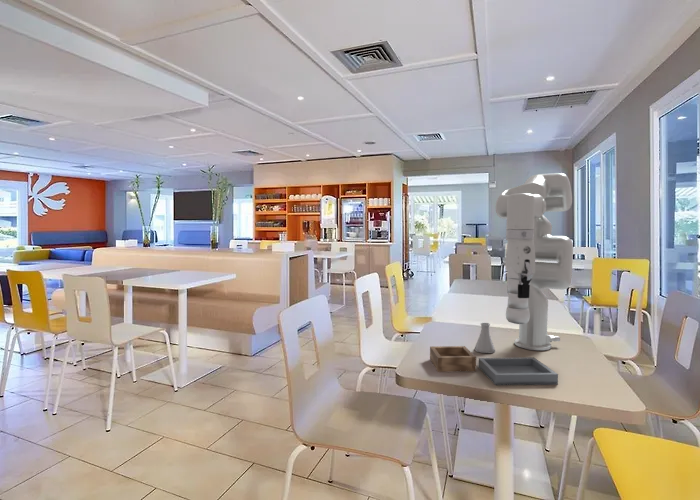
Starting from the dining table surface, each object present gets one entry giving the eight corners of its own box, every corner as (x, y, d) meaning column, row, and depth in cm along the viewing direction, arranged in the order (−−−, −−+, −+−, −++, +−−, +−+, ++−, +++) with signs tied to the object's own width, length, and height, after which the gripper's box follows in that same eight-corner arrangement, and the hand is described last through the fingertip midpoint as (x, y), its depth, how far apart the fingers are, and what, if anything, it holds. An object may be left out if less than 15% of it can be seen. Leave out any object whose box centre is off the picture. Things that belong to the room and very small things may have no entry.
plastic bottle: (527, 327, 113) (530, 258, 112) (503, 324, 117) (505, 257, 115) (531, 322, 119) (533, 256, 117) (507, 319, 122) (509, 255, 121)
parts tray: (533, 366, 126) (534, 357, 126) (557, 384, 112) (558, 374, 112) (478, 367, 126) (478, 358, 126) (495, 385, 112) (495, 375, 112)
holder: (464, 359, 133) (464, 346, 133) (475, 371, 122) (476, 357, 122) (429, 359, 133) (430, 346, 133) (437, 371, 122) (438, 357, 122)
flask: (495, 348, 144) (495, 321, 144) (495, 355, 137) (496, 327, 137) (474, 346, 147) (475, 320, 146) (473, 352, 140) (474, 325, 139)
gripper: (547, 236, 108) (545, 301, 109) (519, 234, 125) (517, 290, 126) (520, 236, 107) (518, 301, 109) (495, 234, 125) (494, 290, 126)
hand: (518, 295), depth 117 cm, fingers closed on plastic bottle, 6 cm apart
